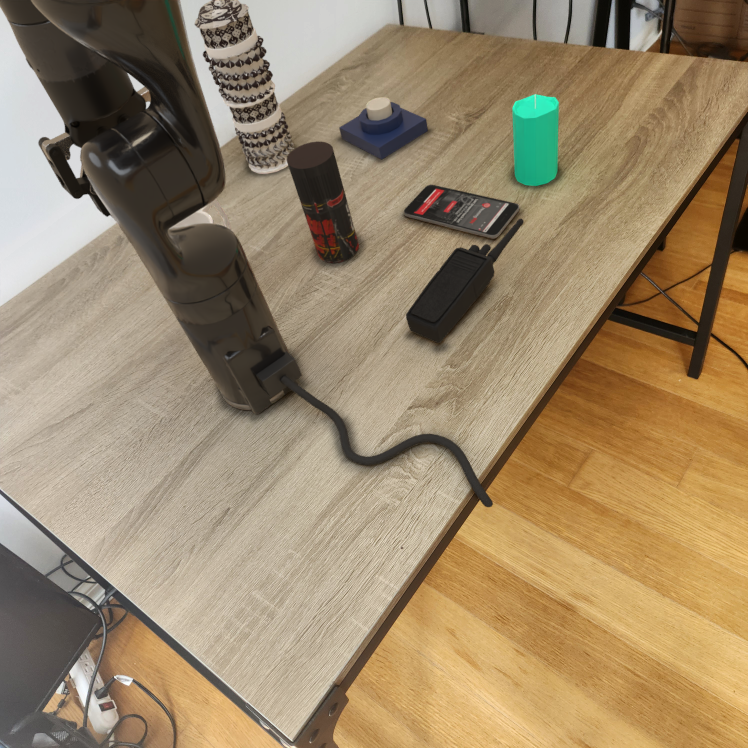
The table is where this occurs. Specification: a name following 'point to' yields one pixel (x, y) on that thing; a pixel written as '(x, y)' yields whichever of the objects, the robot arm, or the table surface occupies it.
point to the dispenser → (384, 131)
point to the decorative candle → (245, 83)
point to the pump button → (379, 108)
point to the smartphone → (462, 211)
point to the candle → (535, 139)
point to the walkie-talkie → (455, 288)
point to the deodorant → (323, 201)
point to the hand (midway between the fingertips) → (146, 193)
